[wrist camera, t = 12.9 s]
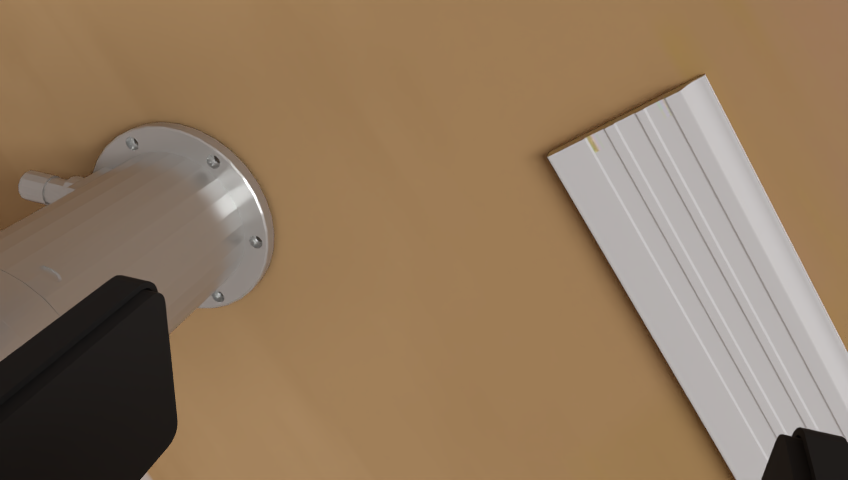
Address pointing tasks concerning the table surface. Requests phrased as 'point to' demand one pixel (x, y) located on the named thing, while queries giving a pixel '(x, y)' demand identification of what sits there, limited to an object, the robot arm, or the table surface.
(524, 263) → the table surface
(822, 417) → the baseboard
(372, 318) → the table surface
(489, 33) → the table surface
